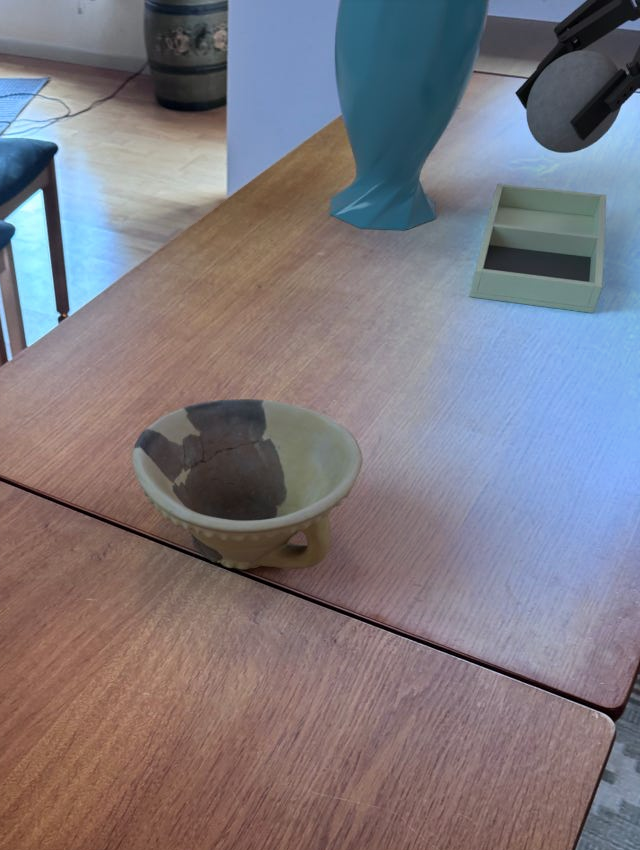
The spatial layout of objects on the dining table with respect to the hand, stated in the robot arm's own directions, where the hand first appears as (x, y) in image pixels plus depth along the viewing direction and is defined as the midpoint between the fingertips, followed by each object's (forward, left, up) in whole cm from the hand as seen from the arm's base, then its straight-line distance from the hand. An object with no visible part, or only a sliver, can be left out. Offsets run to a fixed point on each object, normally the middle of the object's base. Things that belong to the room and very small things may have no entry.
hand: (548, 116), depth 103 cm
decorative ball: (-3, -1, -4) cm, 5 cm away
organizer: (-2, +3, -15) cm, 15 cm away
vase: (+15, -12, -15) cm, 24 cm away
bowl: (+36, +57, -15) cm, 69 cm away
